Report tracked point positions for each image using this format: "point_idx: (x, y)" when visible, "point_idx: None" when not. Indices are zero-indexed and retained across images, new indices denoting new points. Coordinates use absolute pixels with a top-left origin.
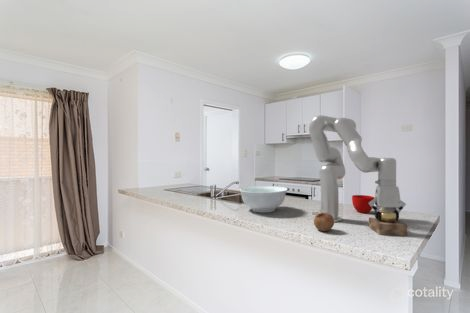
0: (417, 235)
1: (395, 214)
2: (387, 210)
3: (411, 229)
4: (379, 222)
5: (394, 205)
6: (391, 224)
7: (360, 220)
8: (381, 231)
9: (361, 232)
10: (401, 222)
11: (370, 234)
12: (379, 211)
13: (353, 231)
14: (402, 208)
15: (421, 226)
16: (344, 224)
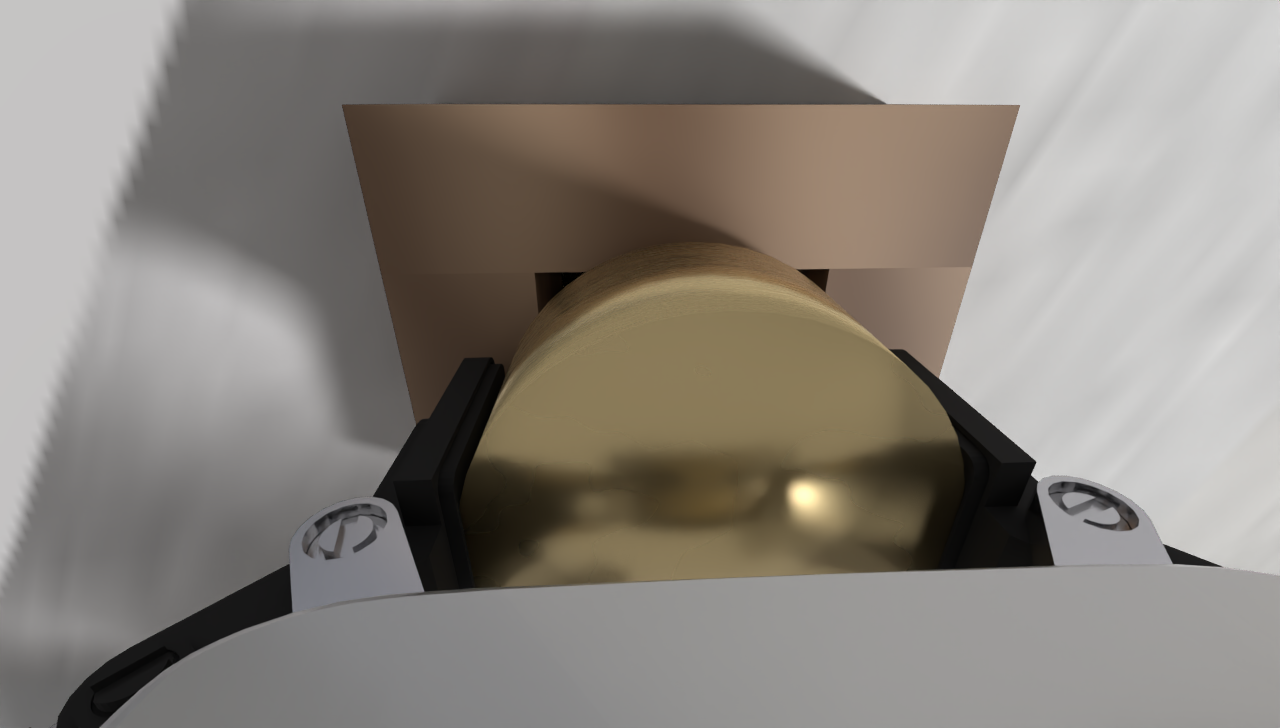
0: (248, 145)
1: (533, 370)
2: None
3: (267, 448)
4: (920, 252)
5: (508, 691)
6: (728, 108)
7: None
8: (880, 104)
9: (1094, 207)
10: (414, 317)
11: (1026, 106)
12: (908, 563)
13: (1179, 246)
14: (129, 656)
15: (106, 582)
16: None
